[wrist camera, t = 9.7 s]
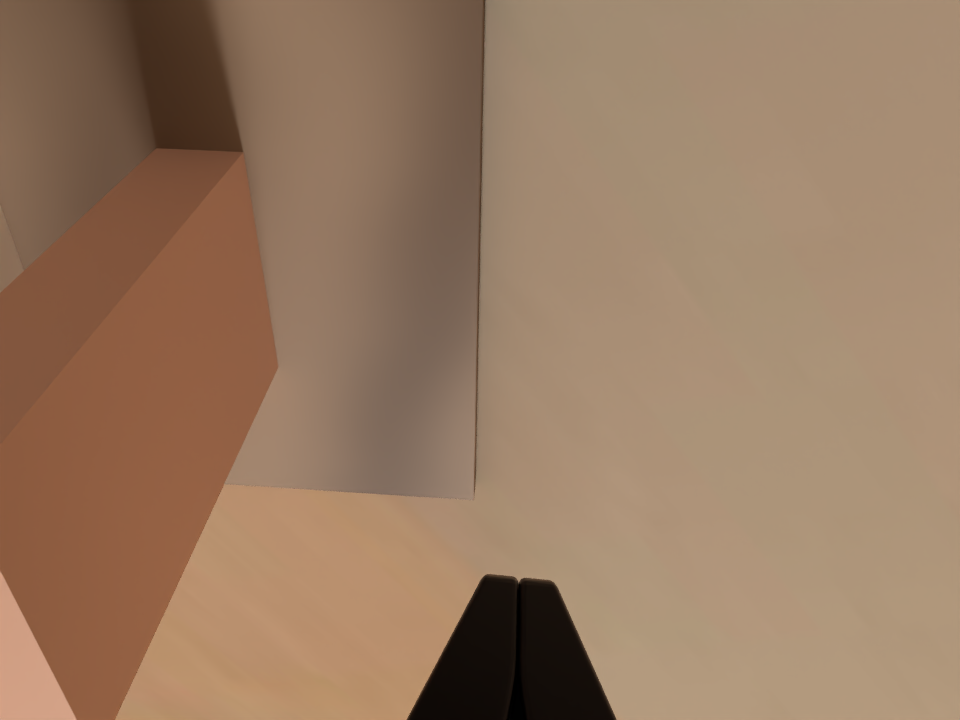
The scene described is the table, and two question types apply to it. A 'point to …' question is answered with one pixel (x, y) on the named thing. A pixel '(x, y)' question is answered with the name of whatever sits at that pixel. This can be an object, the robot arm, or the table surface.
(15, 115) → the walnut board
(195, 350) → the terracotta domino
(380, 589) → the table surface
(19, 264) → the domino
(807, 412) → the table surface
